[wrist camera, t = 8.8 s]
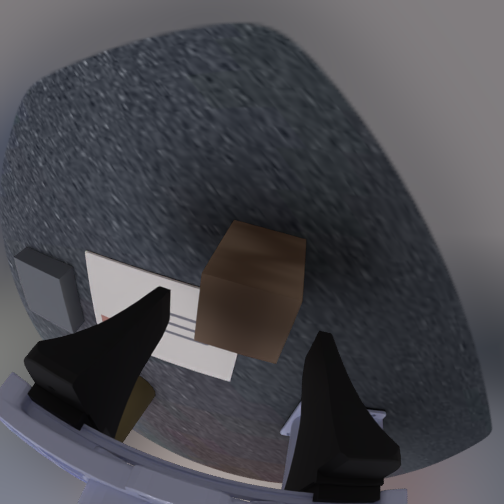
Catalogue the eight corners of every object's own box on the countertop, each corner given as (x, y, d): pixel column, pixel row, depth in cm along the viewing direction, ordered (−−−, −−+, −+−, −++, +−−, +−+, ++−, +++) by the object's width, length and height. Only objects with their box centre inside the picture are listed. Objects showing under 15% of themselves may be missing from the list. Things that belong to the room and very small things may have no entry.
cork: (105, 361, 29) (59, 433, 20) (149, 377, 29) (107, 459, 19) (118, 390, 32) (82, 455, 23) (159, 404, 32) (126, 477, 22)
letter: (251, 302, 21) (250, 303, 20) (230, 379, 26) (229, 381, 26) (86, 250, 22) (84, 251, 21) (100, 332, 27) (99, 333, 26)
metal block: (75, 264, 23) (59, 279, 21) (86, 319, 27) (73, 334, 25) (29, 245, 24) (13, 257, 22) (42, 297, 27) (29, 309, 25)
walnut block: (306, 239, 18) (302, 301, 13) (286, 296, 20) (275, 363, 15) (234, 219, 18) (201, 272, 13) (223, 278, 20) (194, 340, 15)
